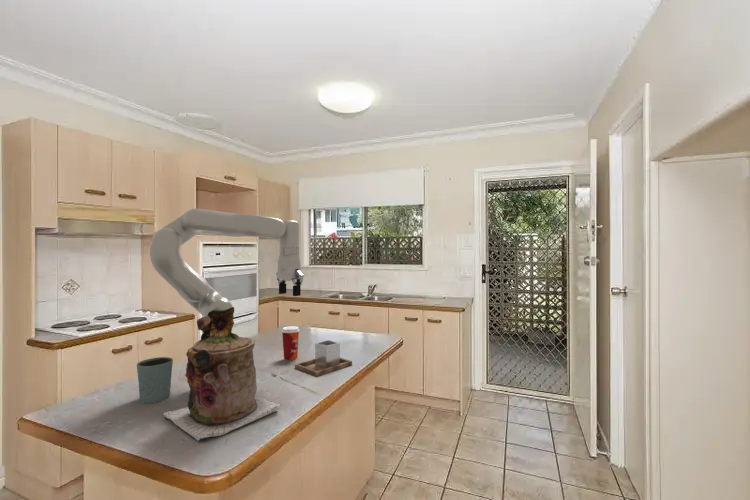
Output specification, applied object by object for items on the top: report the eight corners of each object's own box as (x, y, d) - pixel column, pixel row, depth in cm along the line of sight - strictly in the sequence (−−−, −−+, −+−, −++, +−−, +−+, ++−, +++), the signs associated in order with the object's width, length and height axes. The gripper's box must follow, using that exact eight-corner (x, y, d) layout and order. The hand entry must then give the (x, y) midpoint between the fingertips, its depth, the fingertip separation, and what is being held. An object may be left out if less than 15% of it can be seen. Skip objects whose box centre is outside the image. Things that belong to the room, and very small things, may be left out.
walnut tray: (316, 379, 137) (316, 372, 137) (294, 370, 146) (294, 364, 146) (352, 367, 150) (352, 361, 150) (329, 360, 159) (329, 354, 159)
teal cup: (132, 406, 114) (131, 367, 114) (143, 393, 124) (142, 358, 124) (168, 402, 117) (168, 364, 117) (176, 390, 127) (176, 355, 127)
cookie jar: (238, 391, 126) (237, 297, 125) (283, 411, 110) (282, 304, 110) (160, 417, 107) (159, 307, 106) (200, 446, 91) (199, 317, 91)
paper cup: (297, 362, 156) (297, 329, 156) (279, 362, 156) (279, 329, 156) (301, 357, 164) (301, 325, 164) (284, 357, 164) (284, 325, 164)
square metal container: (326, 369, 145) (326, 346, 145) (315, 365, 149) (315, 343, 149) (339, 365, 150) (339, 342, 150) (328, 361, 154) (328, 340, 154)
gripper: (269, 251, 150) (269, 293, 150) (294, 252, 138) (294, 297, 138) (285, 251, 155) (285, 292, 155) (310, 251, 143) (310, 295, 143)
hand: (289, 294), depth 147 cm, fingers open, 9 cm apart
